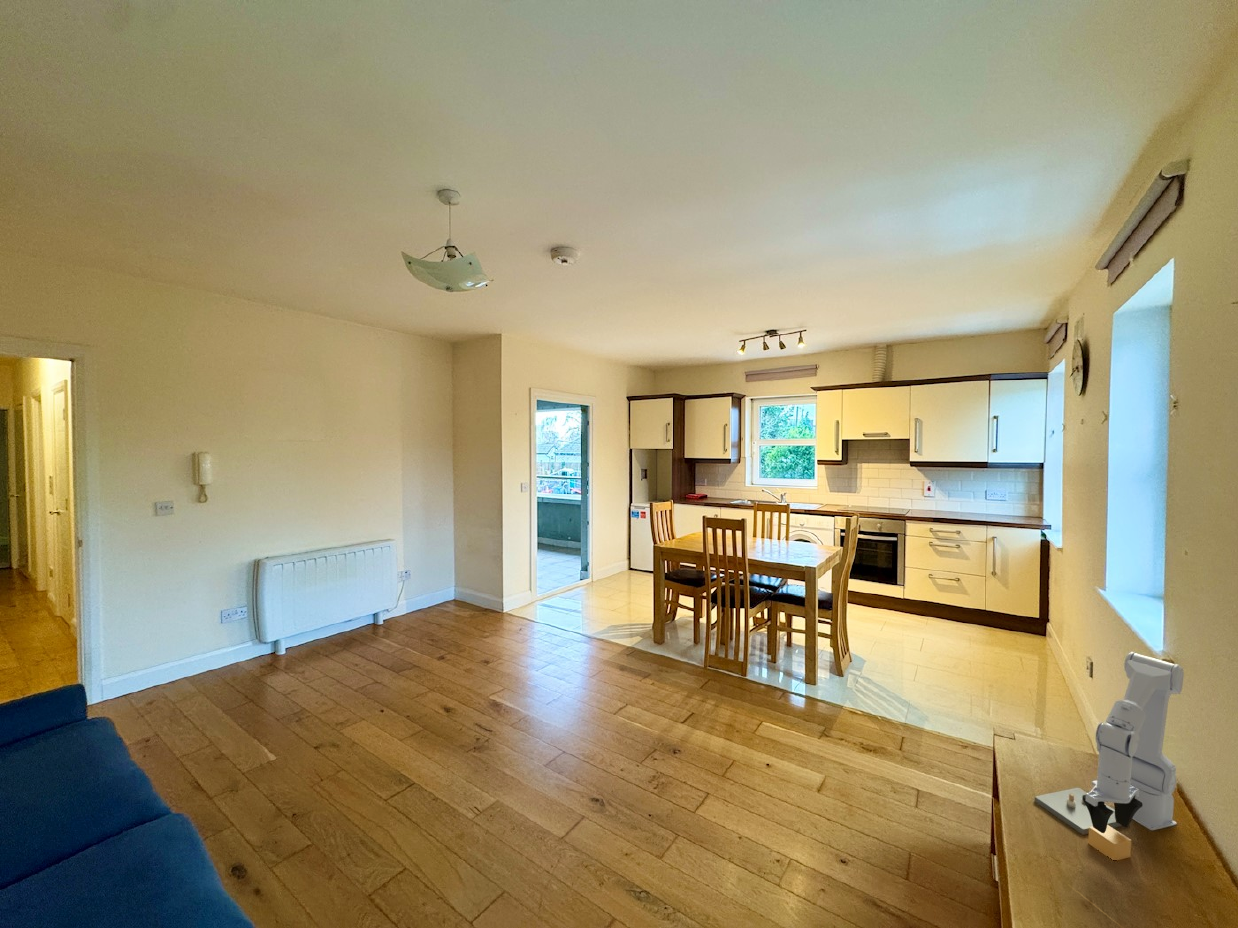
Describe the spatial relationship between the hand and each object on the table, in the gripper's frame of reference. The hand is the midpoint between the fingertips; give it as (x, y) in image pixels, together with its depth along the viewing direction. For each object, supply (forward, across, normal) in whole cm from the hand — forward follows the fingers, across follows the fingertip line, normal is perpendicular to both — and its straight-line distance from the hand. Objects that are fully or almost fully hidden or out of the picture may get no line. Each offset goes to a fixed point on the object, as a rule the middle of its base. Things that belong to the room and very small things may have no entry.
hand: (1110, 827), depth 123 cm
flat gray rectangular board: (+6, -7, -11) cm, 14 cm away
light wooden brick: (+6, 0, 0) cm, 6 cm away
